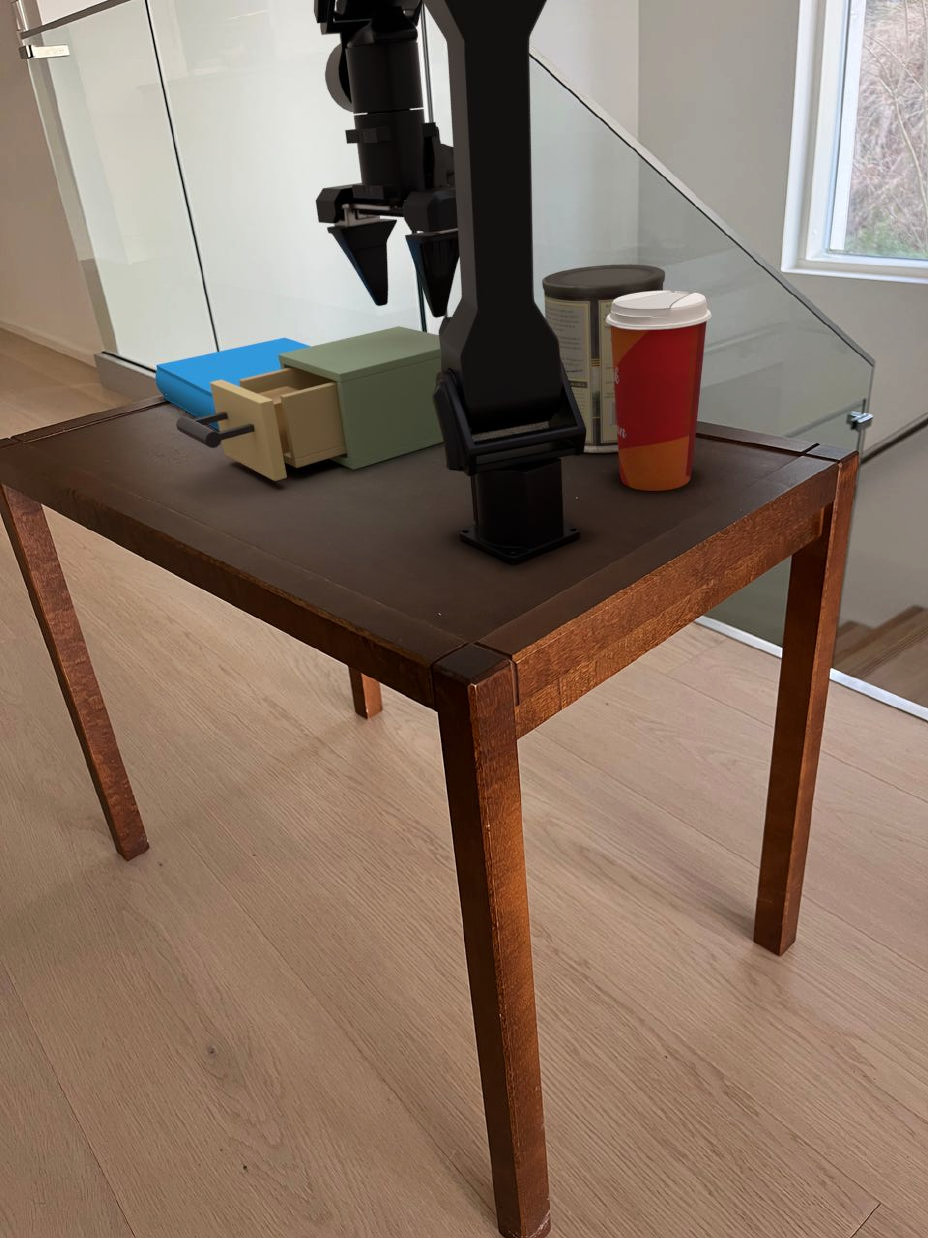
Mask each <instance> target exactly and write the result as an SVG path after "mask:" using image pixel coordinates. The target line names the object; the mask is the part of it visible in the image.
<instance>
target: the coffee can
mask: <svg viewBox="0 0 928 1238" xmlns="http://www.w3.org/2000/svg"><path fill="white" fill-rule="evenodd" d="M665 279H666V271H665V270H664V269H662V268H660V267H657V266H652V265H647V264H603V265H591V266H581V267H577V268H576V267H575V268H571V269H565V270H561V271H560V270H559V271H557V272H554V273H551V274H548V275H547V276H545V277H543V278H542V280H541V283H542V289H543V294H544V295H543V296H544V312H545V313H544V317H545V319H546V320H547V322H548V324H549V325H550V327H551V328H552V330H553V331H554V333H555V335H556V336H557V338H558V340H559V348H560V358H561V361H562V363H563V366H564V368H565V371H566V374H567V377H568V379H569V382H570V385H571V388H572V390H573V393H574V396H575V399H576V402H577V404H578V407H579V410H580V413H581V415H582V418H583V421H584V424H585V427H586V431H587V433H586V440H585V447H584V453H586V454H587V453H588V454H613V453H618V439H617V424H616V408H615V392H614V376H613V359H612V343H611V327H610V324H608V323H607V322H606V318H607V316H608V315H609V314H610V312H611V305H612V302H613V301H614V300H615V299H616V298H618V297H621V296H625V295H629V294H634V293H640V292H649V291H664V282H665Z"/></svg>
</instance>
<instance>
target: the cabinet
mask: <svg viewBox="0 0 928 1238" xmlns="http://www.w3.org/2000/svg"><path fill="white" fill-rule="evenodd" d="M311 346H312V347H307V348H303V349H299V350H294V351H290V352H286V353H281V354H278V357H279V362H280V368H281V369H285V368H289V367H295V368H298V369H301V370H304V371H307V372H310V373H313V374H316V375H319V376H322V377H325V378H328V379H331V380H334V381H337V388H338V395H339V402H340V408H341V415H342V422H343V429H344V436H345V443H346V449H347V453H345V454H342V455H338V456H335V457H332V458H328V459H329V460H331V461H333V462H336V463H337V464H340V465H342V466H344V467H346V468H348V469H351V470H352V471H355V470H357V469H361V468H364V467H368V466H370V465H374V464H377V463H380V462H383V461H387V460H390V459H393V458H397V457H400V456H402V455H405V454H409V453H412V452H415V451H418V450H422V449H425V448H428V447H431V446H434V445H438V444H440V443H444V442H443V437H442V433H441V429H440V425H439V422H438V418H437V414H436V410H435V407H434V403H433V398H432V395H433V393H434V390H435V387H436V376H437V373H438V372H439V371H441V350H440V341H439V334H436V333H431V332H428V331H422V330H418V329H413V328H408V327H404V326H400V325H398V326H395V327H394V326H393V327H390V328H385V329H381V330H377V331H372V332H369V333H365V334H360V335H355V336H350V337H346V338H342V339H339V340H332V341H329V342H325V343H320V344H316V345H311Z"/></svg>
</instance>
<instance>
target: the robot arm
mask: <svg viewBox="0 0 928 1238" xmlns="http://www.w3.org/2000/svg"><path fill="white" fill-rule="evenodd" d="M547 2H548V0H313V14H314V17H315V21H316V24H319V28H320V34H321V36H324V35H326V36H327V35H339V40H340V41H339V42H340V43H339V44H337V45H336V46H335V47H334V48H333V49H332V51H331V53H330V54H329V56H328V58H327V61H326V63H325V64H326V65H325V70H324V81H325V85H326V89H327V91H328V93H329V96H330V97H331V99H332V100H333V101H334V102H335V103H336V105H338V106H339V107H340V108H342V109H343V110H345V111H347V112H349V113H352V114H353V123H354V128H352V129H345V130H344V133H345V141H346V144H347V145H348V144H349V145H351V144H354V145H355V144H356V148H357V155H358V164H359V173H360V180H361V182H357V183H351V184H343V185H336V186H329V187H328V186H327V187H323V188H322V189H321V191H320V192H319V194H318V195H317V197H316V199H315V205H316V213H317V221H318V223H320V224H333V225H332V226H327V227H326V231H327V234H330V235H332V237H333V238H334V239H335V241H336V243H337V244H338V245H339V248H341V250H342V252H343V253H344V255H345V256H346V258H347V259H348V261H349V262H350V264H351V265H352V267H353V269H354V271H355V272H356V274H357V276H358V277H359V279H360V281H361V283H362V284H363V285H364V287H365V289H366V291H367V293H368V294H369V297H370V298H371V299H372V302H373V303H374V305H375V306H377V307H383V306H386V305H388V303H389V271H388V270H389V269H388V267H389V265H388V240H389V238H390V236H391V234H392V232H393V230H394V229H395V226H396V225H397V223H398V219H395V218H403V220H404V222H405V224H406V225H407V227H408V228H409V231H410V232H415V233H410V234H409V233H408V234H405V235H404V239H405V241H406V244H407V247H408V250H409V253H410V257H411V259H412V262H413V265H414V268H415V270H416V274H417V277H418V280H419V283H420V287H421V288H422V292H423V295H424V297H425V301H426V303H427V307H428V308H429V311H430V313H431V315H432V317H433V318H435V319H437V318H441V317H443V318H442V320H441V322H440V326H439V329H438V335H439V341H440V350H441V371H439V372H438V373H437V376H436V387H435V390H434V393H433V395H432V398H433V403H434V407H435V410H436V414H437V418H438V422H439V425H440V429H441V433H442V437H443V442H442V443H443V446H444V452H445V462H446V468H447V469H448V471H455V472H462V473H464V475H465V476H466V477H470V490H471V492H470V493H471V502H472V515H473V521H474V522H475V523H474V524H472V525H470V526H468V527H465V528H463V529H461V530H458V538H459V539H461V540H463V541H465V542H466V543H468V544H470V545H472V546H474V547H477V548H479V549H481V550H483V551H485V552H487V553H490V554H491V555H493V556H496V557H498V558H500V559H501V560H504V561H505V562H508V563H518V562H521V561H523V560H526V559H528V558H530V557H534V556H536V555H538V554H540V553H543V552H546V551H548V550H550V549H553V548H555V547H558V546H561V545H562V544H563V545H564V544H565V543H567V542H570V541H572V540H575V539H577V538H579V537H581V528H579V527H577V526H575V525H573V524H570V523H567V522H565V521H564V499H563V497H564V495H563V494H564V493H563V470H562V469H563V465H562V459H561V458H564V457H570V456H575V457H577V456H581V455H584V453H585V452H584V447H585V440H586V433H587V431H586V427H585V424H584V421H583V418H582V415H581V413H580V410H579V407H578V404H577V402H576V399H575V396H574V393H573V390H572V388H571V385H570V382H569V379H568V377H567V374H566V371H565V368H564V366H563V363H562V361H561V358H560V348H559V340H558V338H557V336H556V335H555V333H554V331H553V330H552V328H551V327H550V325H549V324H548V322H547V320H546V319H545V315H544V314H543V313H542V311H541V309H540V307H539V306H538V305H537V303H536V301H535V291H534V290H535V289H534V288H535V287H534V284H535V283H534V281H535V280H534V235H533V234H534V233H533V231H534V230H533V183H532V182H533V181H532V180H533V179H532V178H533V176H532V131H531V130H532V126H531V125H532V122H531V121H532V120H531V118H532V117H531V68H530V67H531V65H530V41H531V40H530V39H531V35H532V33H533V31H534V28H535V27H536V25H537V23H538V20H539V18H540V16H541V14H542V12H543V10H544V8H545V6H546V3H547ZM423 5H424V6H425V8H426V9H427V11H428V13H429V14H430V16H431V18H432V19H433V21H434V23H435V25H436V26H437V28H438V30H439V31H440V33H441V35H442V36H443V38H444V39H445V42H446V49H447V64H448V65H447V66H448V81H449V97H450V98H449V99H450V100H449V101H450V115H451V116H450V117H451V131H452V133H451V134H452V145H448V144H445V143H442V142H441V135H440V128H439V126H438V125H437V122H436V121H430V122H429V121H428V122H427V121H426V118H425V109H424V97H423V86H422V75H421V64H420V63H421V62H420V53H419V52H420V51H419V42H417V41H418V38H419V31H418V29H417V27H418V25H419V23H420V22H419V21H420V16H421V13H422V9H423ZM381 217H392V218H381ZM458 263H459V270H460V284H461V285H460V288H461V298H460V300H459V301H458V304H457V306H456V308H455V310H454V312H453V314H452V316H446V314H447V310H448V306H449V303H450V302H449V301H450V297H451V292H452V288H453V283H454V280H455V274H456V270H457V267H458ZM444 316H446V317H444ZM543 423H547V425H548V427H544V428H539V429H534V430H529V431H524V432H518V433H512V434H508V435H502V436H497V437H490V438H486V439H480V440H475V441H474V439H473V436H476V435H477V436H478V435H482V434H488V433H493V432H500V431H506V430H511V429H515V428H521V427H527V426H532V425H538V424H543Z"/></svg>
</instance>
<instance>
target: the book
mask: <svg viewBox="0 0 928 1238" xmlns="http://www.w3.org/2000/svg"><path fill="white" fill-rule="evenodd" d="M312 346H313V345H308V344H305V343H302V342H300V341H296V340H294V339H290V338H288V337H280V338H275V339H272V340H271V339H270V340H266V341H262V342H257V343H253V344H248V345H243V346H239V347H234V348H230V349H224V350H219V351H215V352H210V353H206V354H201V355H197V356H196V355H195V356H192V357H188V358H181V359H178V360H174V361H168V362H164V363H163V362H162V363H159V364H155V366H156V371H155V384H156V388H157V389H158V391H159V392H160V394H162V396H163V399H164V400H165V401H168V402H169V403H172V404H173V405H174V406H177V407H178V408H180V409H182V410H183V411H185V412H187V413H189V414H190V415H192V416H193V417H196V418H200V417H204V416H208V415H212V414H216V410H215V406H214V401H213V396H212V392H211V387H210V382H213V381H217V380H224V381H226V382H229V383H232V384H234V385H237V386H239V387H240V383H239V380H240V379H244V378H248V377H252V376H256V375H260V374H264V373H268V372H273V371H277V370H281V368H280V362H279V357H278V354H281V353H286V352H290V351H294V350H299V349H303V348H307V347H312ZM166 394H167V395H166ZM208 425H209V426H211V427H213V428H214V429H216V430H218V432H220V429H219V425H218V422H214V423H210V424H208Z"/></svg>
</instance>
